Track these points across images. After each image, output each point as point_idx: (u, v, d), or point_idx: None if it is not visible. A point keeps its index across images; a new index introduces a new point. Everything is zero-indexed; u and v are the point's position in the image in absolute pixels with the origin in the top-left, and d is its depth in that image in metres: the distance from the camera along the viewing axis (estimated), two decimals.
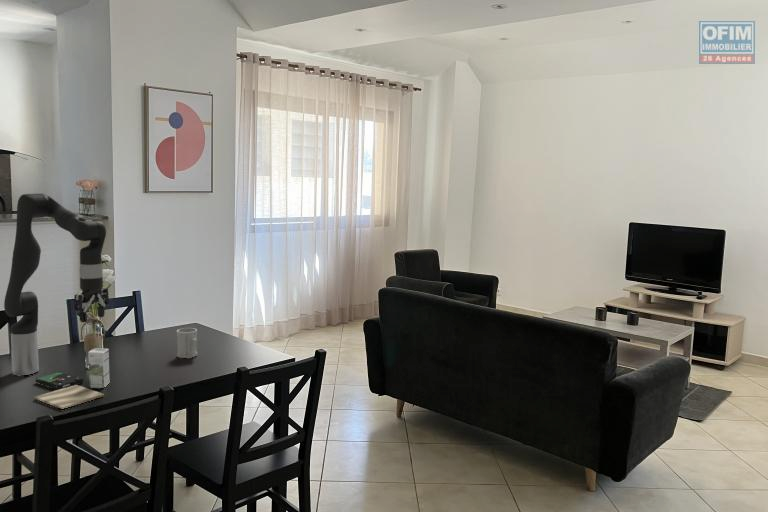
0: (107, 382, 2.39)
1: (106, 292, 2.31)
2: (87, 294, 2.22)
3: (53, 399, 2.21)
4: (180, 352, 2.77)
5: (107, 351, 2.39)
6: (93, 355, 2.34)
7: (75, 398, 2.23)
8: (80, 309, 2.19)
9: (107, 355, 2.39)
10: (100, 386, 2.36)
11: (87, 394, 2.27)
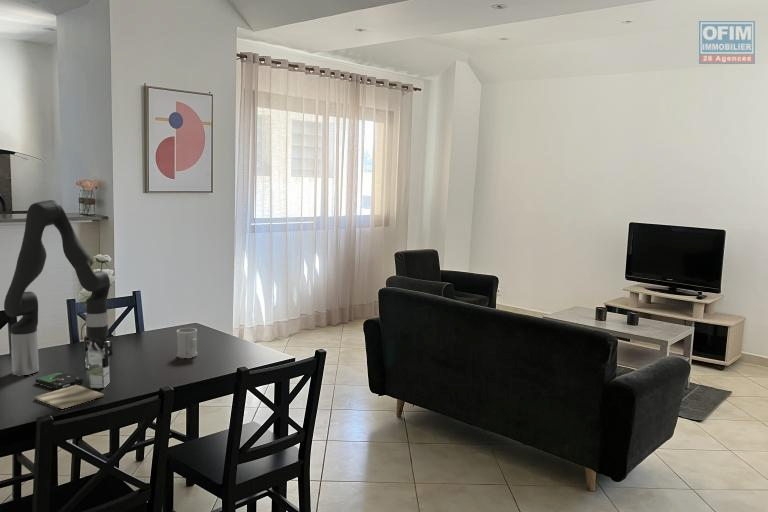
0: (107, 382, 2.39)
1: None
2: None
3: (53, 399, 2.21)
4: (180, 352, 2.77)
5: None
6: (93, 355, 2.34)
7: (75, 398, 2.23)
8: None
9: None
10: (100, 386, 2.36)
11: (87, 394, 2.27)
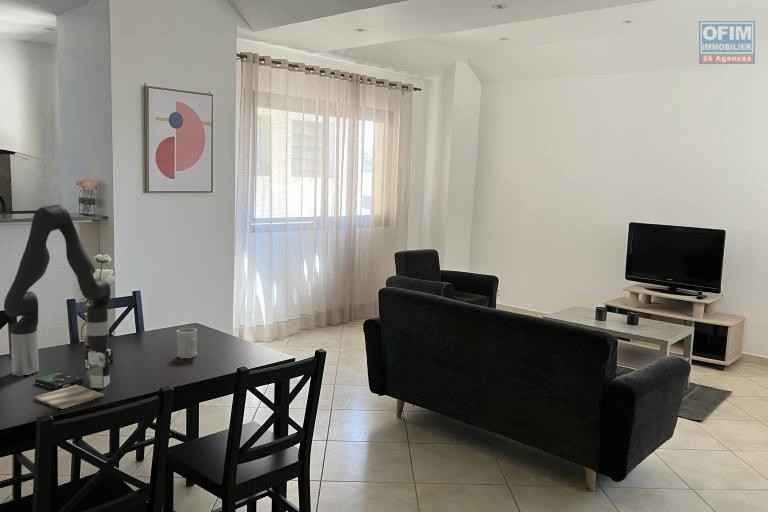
0: (107, 382, 2.39)
1: None
2: None
3: (53, 399, 2.21)
4: (180, 352, 2.77)
5: None
6: (93, 355, 2.34)
7: (75, 398, 2.23)
8: None
9: None
10: (100, 386, 2.36)
11: (87, 394, 2.27)
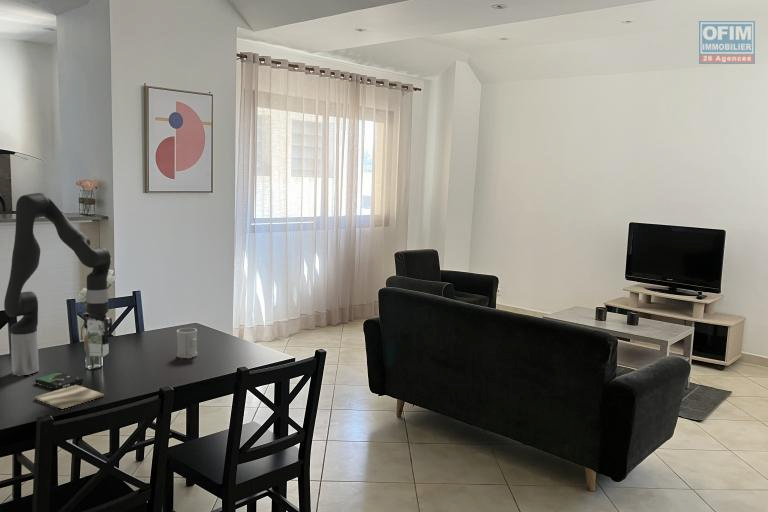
0: (106, 351, 2.38)
1: None
2: None
3: (53, 399, 2.21)
4: (180, 352, 2.77)
5: None
6: (92, 323, 2.33)
7: (75, 398, 2.23)
8: None
9: None
10: (99, 354, 2.35)
11: (87, 394, 2.27)
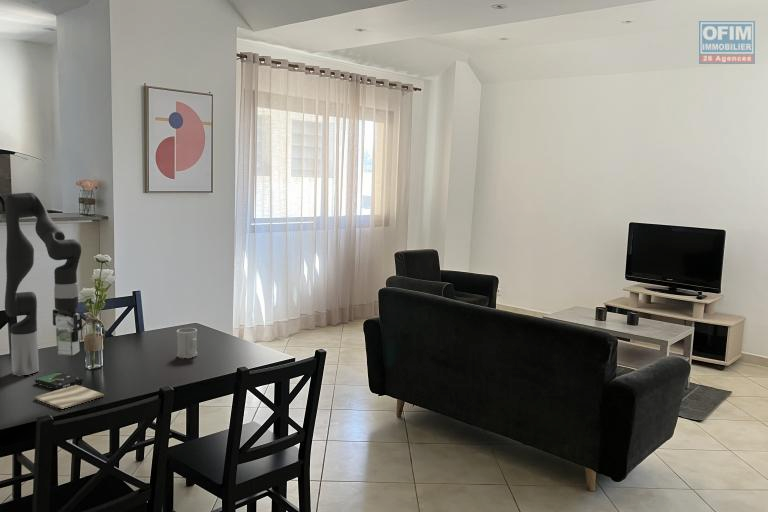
0: (76, 349, 2.24)
1: None
2: None
3: (53, 399, 2.21)
4: (180, 352, 2.77)
5: None
6: (61, 319, 2.19)
7: (75, 398, 2.23)
8: None
9: None
10: (68, 353, 2.21)
11: (87, 394, 2.27)
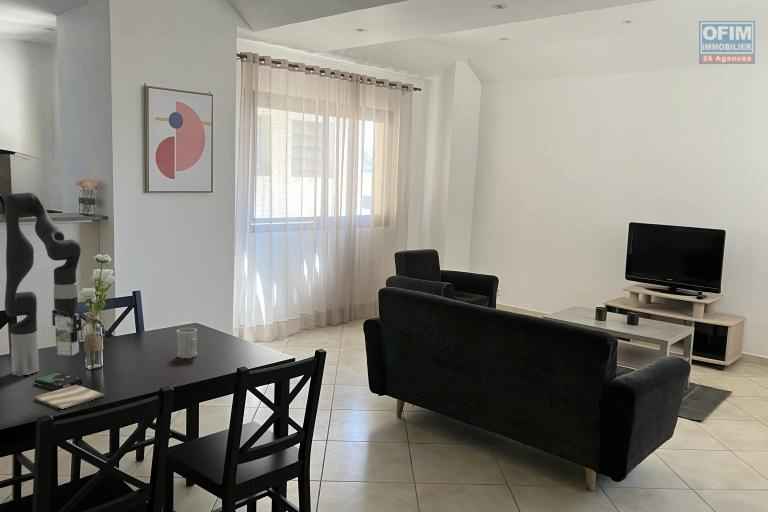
0: (76, 349, 2.24)
1: None
2: None
3: (53, 399, 2.21)
4: (180, 352, 2.77)
5: None
6: (60, 320, 2.19)
7: (75, 398, 2.23)
8: None
9: None
10: (68, 353, 2.21)
11: (87, 394, 2.27)
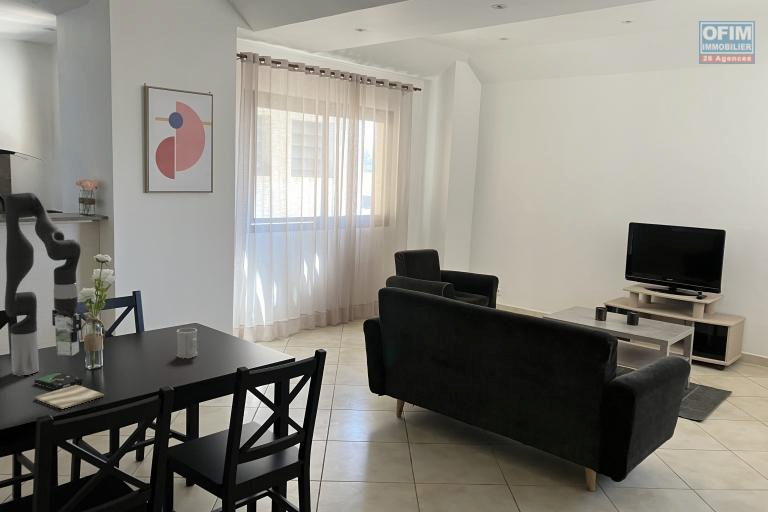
0: (76, 349, 2.24)
1: None
2: None
3: (53, 399, 2.21)
4: (180, 352, 2.77)
5: None
6: (60, 320, 2.19)
7: (75, 398, 2.23)
8: None
9: None
10: (68, 353, 2.21)
11: (87, 394, 2.27)
